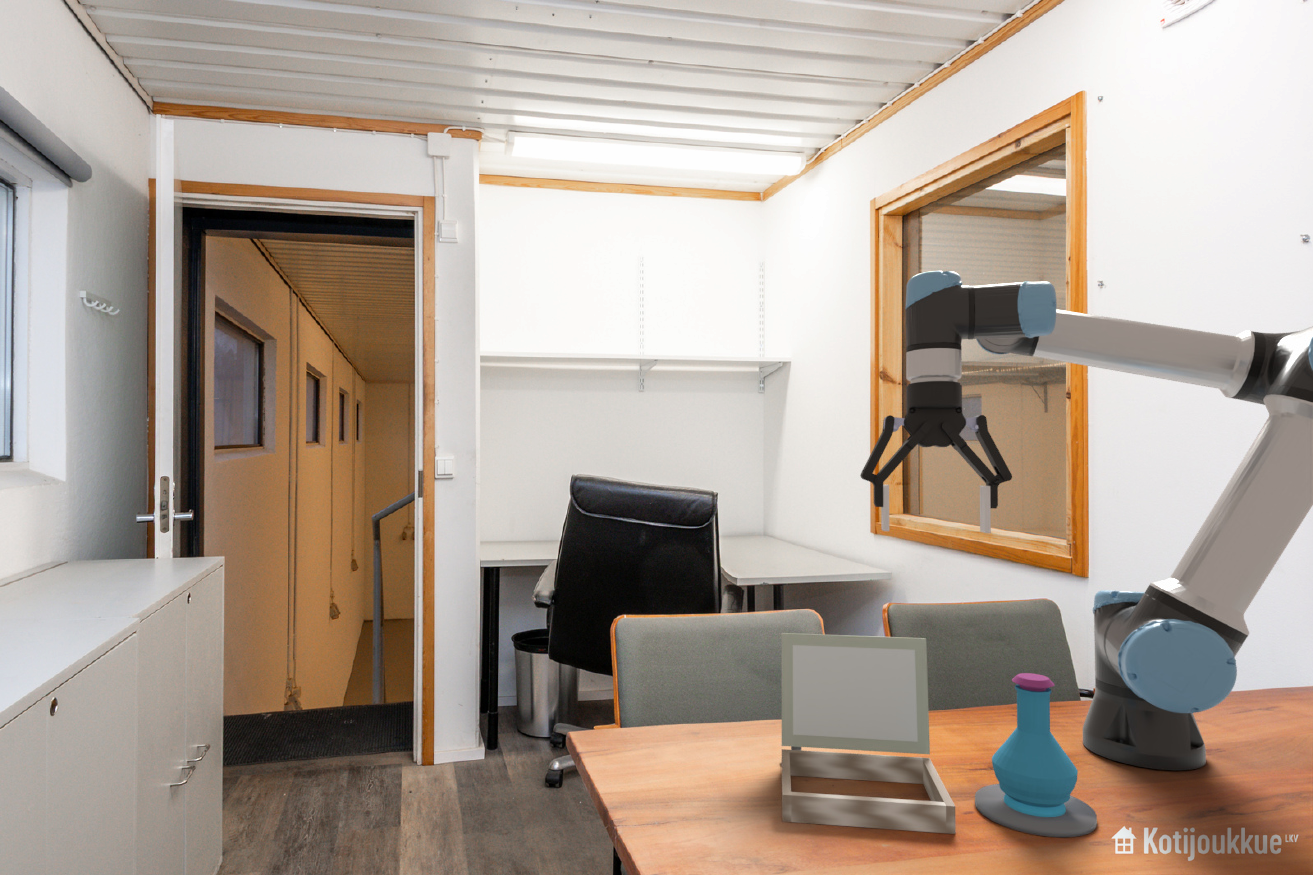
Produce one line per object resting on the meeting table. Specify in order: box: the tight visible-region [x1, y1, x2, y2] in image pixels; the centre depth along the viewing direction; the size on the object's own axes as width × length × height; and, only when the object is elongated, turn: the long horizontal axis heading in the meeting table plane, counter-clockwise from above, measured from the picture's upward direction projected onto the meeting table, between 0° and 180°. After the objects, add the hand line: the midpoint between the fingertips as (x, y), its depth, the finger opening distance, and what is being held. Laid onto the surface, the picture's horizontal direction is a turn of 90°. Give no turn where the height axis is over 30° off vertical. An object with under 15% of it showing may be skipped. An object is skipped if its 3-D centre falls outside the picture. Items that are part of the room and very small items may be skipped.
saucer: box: [974, 783, 1098, 838], centre depth 94 cm, size 13×13×1 cm
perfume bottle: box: [991, 672, 1079, 817], centre depth 94 cm, size 9×9×15 cm
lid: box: [781, 632, 931, 755], centre depth 105 cm, size 19×15×1 cm
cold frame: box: [781, 748, 957, 835], centre depth 97 cm, size 19×15×3 cm
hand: (934, 531), depth 112 cm, fingers open, 13 cm apart
